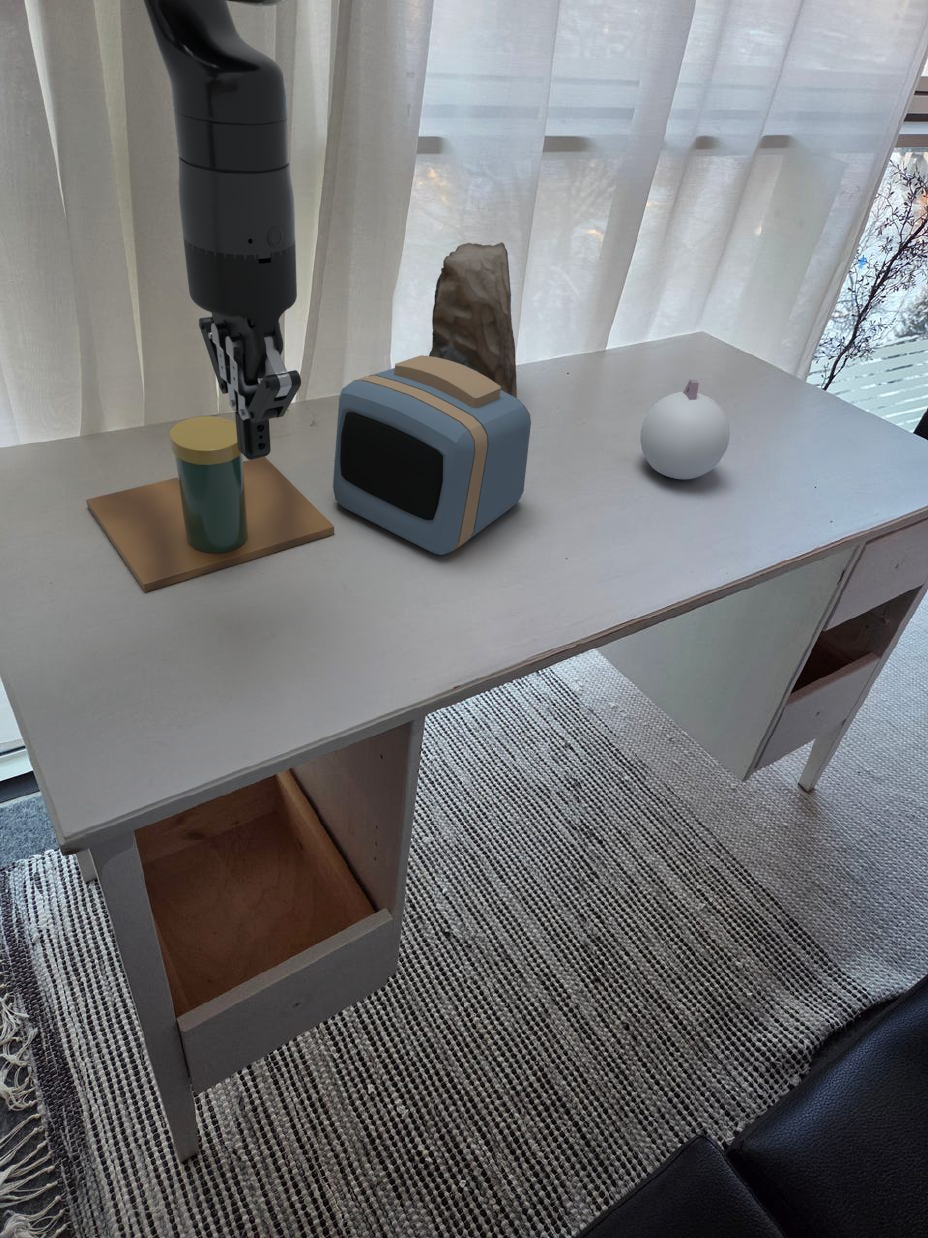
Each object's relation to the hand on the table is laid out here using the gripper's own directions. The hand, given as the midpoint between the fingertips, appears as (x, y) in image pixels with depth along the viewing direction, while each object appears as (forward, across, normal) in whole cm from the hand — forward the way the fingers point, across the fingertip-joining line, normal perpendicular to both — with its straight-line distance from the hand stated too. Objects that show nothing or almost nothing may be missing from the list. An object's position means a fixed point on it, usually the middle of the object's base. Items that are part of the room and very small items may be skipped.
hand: (254, 453), depth 69 cm
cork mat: (+16, -14, +1) cm, 21 cm away
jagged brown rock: (+16, -22, +41) cm, 49 cm away
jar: (+14, -10, 0) cm, 18 cm away
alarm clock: (+16, -6, +23) cm, 28 cm away
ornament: (+16, +2, +55) cm, 57 cm away
